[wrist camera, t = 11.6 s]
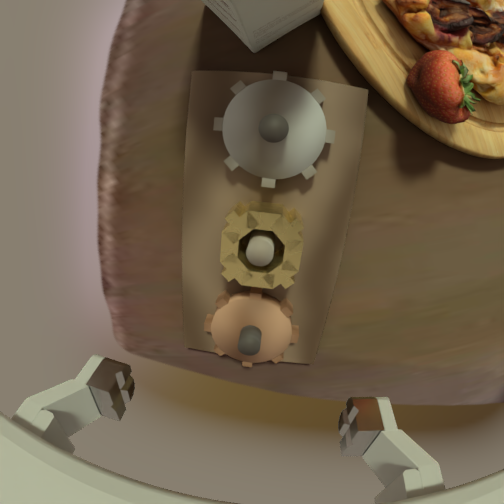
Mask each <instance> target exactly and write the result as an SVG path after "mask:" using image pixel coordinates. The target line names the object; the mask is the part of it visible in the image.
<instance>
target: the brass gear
mask: <svg viewBox="0 0 504 504" xmlns="http://www.w3.org/2000/svg"><path fill="white" fill-rule="evenodd" d="M225 220H226V221H227V223H226V225H225V227H224V228H223V230H222V237H221V253H220V262H221V264H222V265H223V266H224V268H223V270H222V273H221V274H222V275H223V276H224V277H225V278H226V279H227V281H228V282H229V281H231V280H232V279H233V278H235V279H236V280H237V281H238V282H239V283H240V284H241V285H245V286H252V287H260V288H268V289H273V288H275V287H277V286H278V285H280V284H281V285H282V286H283V287H284V288H285V289H286V288H288V287H289V286H291V285H292V284H294V283H295V280H294V274H296V273H297V272H299V266H300V261H301V255H302V249H303V243H304V239H303V234H302V229H304V226H303V221H302V217H301V215H300V214H299V212H298V211H297V210H296V209H295V208H293V209H292V210H291V211H289V212H288V210H287V209H286V208H285V206H284V205H283V204H276V203H268V202H260V201H251V202H250V203H248V204H247V205H246V206H244V205H243V204H242V203H241V202H240V201H239V202H238V203H237V204H235V205H234V206H233V207H232V208H231V209H230V211H229V212H228V214H227V215H226V217H225ZM253 229H259V230H267V231H273V232H274V233H275V234H276V235H277V237H278V238H279V239H280V240H281V241H282V243H283V248H281V249H280V250H278V251H277V252H275V253H274V255H273V259H272V260H271V262H270V263H269V264H267V265H265V266H256V265H253V264H252V263H250V262H249V260H248V259H247V256H246V250H247V247H246V246H245V245H244V244H243V237H244V236H245V235H246V234H248V233H249V232H250V231H252V230H253Z"/></svg>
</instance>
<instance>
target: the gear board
mask: <svg viewBox="0 0 504 504" xmlns="http://www.w3.org/2000/svg"><path fill="white" fill-rule="evenodd" d="M367 99H368V90H367V89H363V88H359V87H354V86H349V85H344V84H339V83H334V82H328V81H323V80H317V79H310V78H303V77H296V76H288V75H287V72H281V71H273V74H268V73H256V72H240V71H192V77H191V86H190V96H189V107H188V118H187V131H186V146H185V162H184V183H183V213H182V299H183V329H184V347H186V348H192V349H197V350H203V351H209V352H215V353H217V354H218V355H219V356H222V355H223V354H227V355H228V356H230V357H232V358H234V359H236V360H239V361H243V362H242V366H245V367H252V363H259V362H265V361H269V360H272V361H273V362H274V363H275V364H276V363H278V362H279V361H283V362H293V363H304V364H313V363H314V360H315V357H316V354H317V350H318V347H319V344H320V340H321V337H322V333H323V330H324V326H325V323H326V319H327V315H328V311H329V308H330V304H331V300H332V296H333V292H334V288H335V284H336V280H337V276H338V272H339V267H340V263H341V259H342V254H343V250H344V245H345V240H346V236H347V231H348V226H349V221H350V216H351V210H352V205H353V200H354V194H355V188H356V182H357V176H358V170H359V163H360V156H361V149H362V142H363V135H364V126H365V118H366V109H367ZM239 201H240V202H241V203H242V204H243V205H244V206H246V205H247V204H248V203H250V202H251V201H260V202H268V203H276V204H283V205H284V206H285V208H286V209H287V210H288V212H289V211H291V210H292V209H293V208H295V209H296V210H297V211H298V212H299V214H300V215H301V217H302V221H303V226H304V229H302V234H303V239H304V243H303V249H302V255H301V261H300V266H299V272H297V273H296V274H294V280H295V283H294V284H292V285H291V286H289V287H288V288H286V289H285V288H284V287H283V286H282V285H281V284H280V285H278V286H277V287H275V288H273V289H268V288H260V287H252V286H245V285H241V284H240V283H239V282H238V281H237V280H236V279H235V278H233V279H232V280H231V281H229V282H228V281H227V279H226V278H225V277H224V276H223V275H222V274H221V273H222V270H223V268H224V266H223V265H222V264H221V262H220V253H221V237H222V230H223V228H224V227H225V225H226V223H227V221H226V220H225V217H226V215H227V214H228V212H229V211H230V209H231V208H232V207H233V206H234V205H235V204H237V203H238V202H239ZM243 244H244V245H245V246H246V247H247V250H246V256H247V259H248V260H249V262H250V263H252V264H253V265H256V266H265V265H267V264H269V263H270V262H271V260H272V259H273V255H274V253H275V252H277V251H278V250H280V249H281V248H283V243H282V241H281V240H280V239H279V238H278V237H277V235H276V234H275V233H274V232H273V231H267V230H259V229H253V230H252V231H250V232H249V233H248V234H246V235H245V236H244V237H243Z"/></svg>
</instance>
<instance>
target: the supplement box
mask: <svg viewBox="0 0 504 504" xmlns="http://www.w3.org/2000/svg"><path fill="white" fill-rule="evenodd" d="M202 1H203V3H204V4H205V5H206V6H208V7H209V8H210V9H211V10H212V11H213V12H214V13H215V14H216V15H217V16H218V17H219V18H220V19H221V20H222V21H223V22H224V23H225V24H226V25H227V26H228V27H229V28H230V29H231V30H232V31H233V32H234V33H235V34H236V35H237V36H238V37H239V38H240V39H241V40H242V42H243V43H244V44H245V45H246V46H247V47H248V48H249V49H250V50H251V51H252V52H253V53H256V52H258V51H259V50H261V49H262V48H264V47H265V46H267V45H269V44H270V43H272V42H273V41H275V40H277V39H278V38H280V37H281V36H283V35H285V34H286V33H288V32H290V31H291V30H293V29H295V28H296V27H298V26H300V25H302V24H303V23H305V22H307V21H309V20H310V19H312V18H314V17H316V16H318V15H320V10H321V8H322V6H323V2H324V0H202Z"/></svg>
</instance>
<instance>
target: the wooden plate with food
mask: <svg viewBox="0 0 504 504" xmlns="http://www.w3.org/2000/svg"><path fill="white" fill-rule="evenodd" d="M320 12H321V14H322V16H323V18H324V20H325V22H326V24H327V26H328V28H329V29H330V31H331V33H332V35H333V36H334V38H335V39H336V41H337V42H338V44H339V45H340V47H341V48H342V50H343V51H344V53H345V54H346V55H347V57H348V58H349V59H350V61H351V62H352V63H353V64H354V66H355V67H356V68H357V70H358V71H359V72H360V74H361V75H362V76H363V77H364V78H365V79H366V81H367V82H368V83H369V84H370V85H371V86H372V87H373V88H374V89H375V90H376V91H377V92H378V94H379V95H381V96H382V97H383V98H384V99H385V100H386V101H387V102H388V103H389V104H390V105H391V106H392V107H393V108H395V109H396V110H397V111H398V112H399V113H400V114H401V115H403V116H404V117H405V118H406V119H407V120H408V121H410V122H411V123H413V124H414V125H415V126H417V127H418V128H419V129H421V130H422V131H423V132H425V133H426V134H428V135H430V136H431V137H433V138H434V139H436V140H437V141H439V142H441V143H443V144H445V145H447V146H449V147H451V148H453V149H456V150H458V151H461V152H464V153H467V154H469V155H472V156H476V157H481V158H487V159H503V158H504V0H324V2H323V6H322V8H321V10H320Z"/></svg>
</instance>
